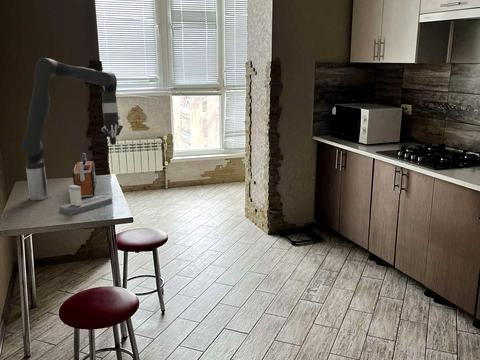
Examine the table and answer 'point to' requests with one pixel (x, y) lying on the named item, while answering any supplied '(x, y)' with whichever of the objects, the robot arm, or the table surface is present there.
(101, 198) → the fader console
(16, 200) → the table surface
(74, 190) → the fader tab
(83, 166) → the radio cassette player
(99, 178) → the table surface
